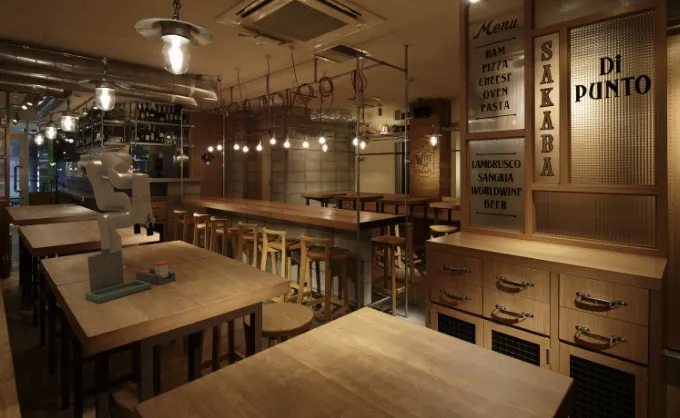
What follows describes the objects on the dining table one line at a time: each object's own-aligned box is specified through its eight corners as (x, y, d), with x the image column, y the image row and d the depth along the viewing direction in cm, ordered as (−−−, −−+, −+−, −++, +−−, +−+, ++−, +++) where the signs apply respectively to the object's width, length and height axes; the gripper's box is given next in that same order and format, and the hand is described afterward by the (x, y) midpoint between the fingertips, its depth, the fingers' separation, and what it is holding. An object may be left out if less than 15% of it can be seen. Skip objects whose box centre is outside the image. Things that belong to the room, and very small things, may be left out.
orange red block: (154, 277, 195) (153, 263, 194) (163, 275, 199) (162, 261, 198) (160, 278, 193) (159, 264, 192) (169, 276, 197) (168, 262, 196)
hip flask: (120, 285, 191) (117, 243, 189) (126, 286, 190) (124, 244, 188) (89, 295, 177) (85, 250, 174) (95, 296, 175) (91, 251, 173)
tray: (85, 299, 172) (85, 293, 171) (137, 285, 191) (136, 279, 191) (99, 303, 166) (99, 297, 166) (151, 288, 185) (150, 283, 185)
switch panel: (136, 279, 200) (136, 271, 199) (153, 275, 207) (152, 267, 207) (158, 285, 190) (158, 277, 190) (175, 280, 198) (174, 272, 198)
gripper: (123, 199, 192) (125, 234, 194) (145, 201, 184) (147, 237, 186) (137, 197, 199) (139, 232, 201) (160, 199, 190) (162, 235, 192)
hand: (143, 234), depth 193 cm, fingers open, 9 cm apart
